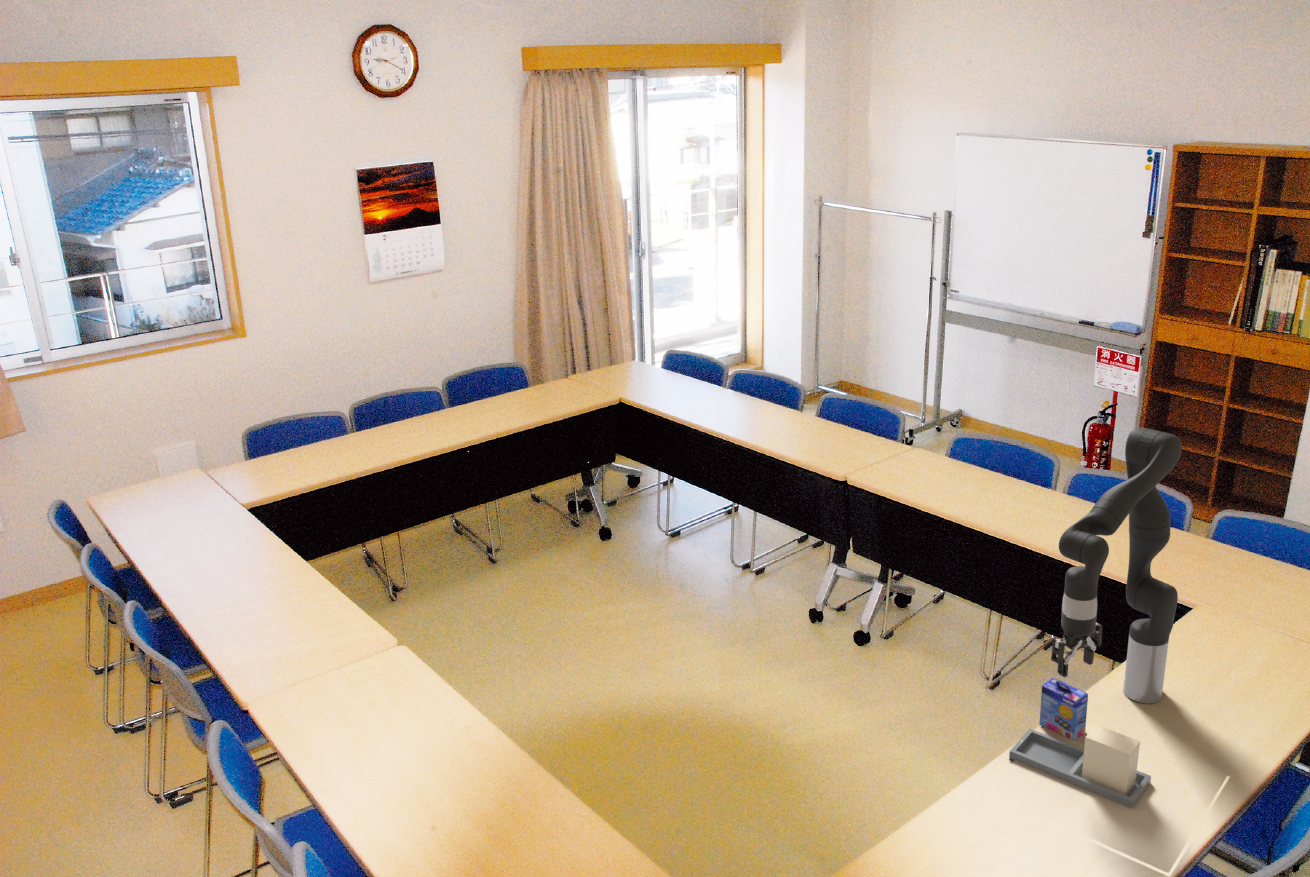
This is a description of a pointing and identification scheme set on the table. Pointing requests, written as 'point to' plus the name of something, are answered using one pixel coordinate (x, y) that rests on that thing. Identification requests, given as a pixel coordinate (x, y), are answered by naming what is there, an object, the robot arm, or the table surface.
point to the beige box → (1110, 759)
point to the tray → (1069, 765)
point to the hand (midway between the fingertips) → (1075, 669)
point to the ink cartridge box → (1063, 709)
